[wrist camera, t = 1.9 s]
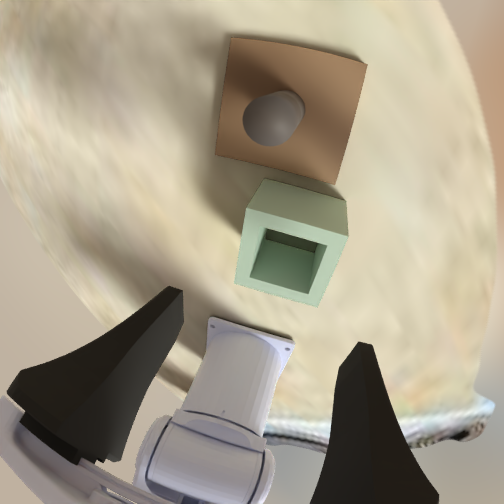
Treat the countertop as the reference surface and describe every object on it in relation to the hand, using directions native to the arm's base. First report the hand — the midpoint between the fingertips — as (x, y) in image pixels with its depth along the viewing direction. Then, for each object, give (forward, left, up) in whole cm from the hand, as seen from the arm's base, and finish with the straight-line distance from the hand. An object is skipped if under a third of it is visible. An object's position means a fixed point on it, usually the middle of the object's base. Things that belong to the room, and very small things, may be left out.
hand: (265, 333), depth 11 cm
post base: (+7, +2, -9) cm, 11 cm away
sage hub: (0, 0, -9) cm, 9 cm away
